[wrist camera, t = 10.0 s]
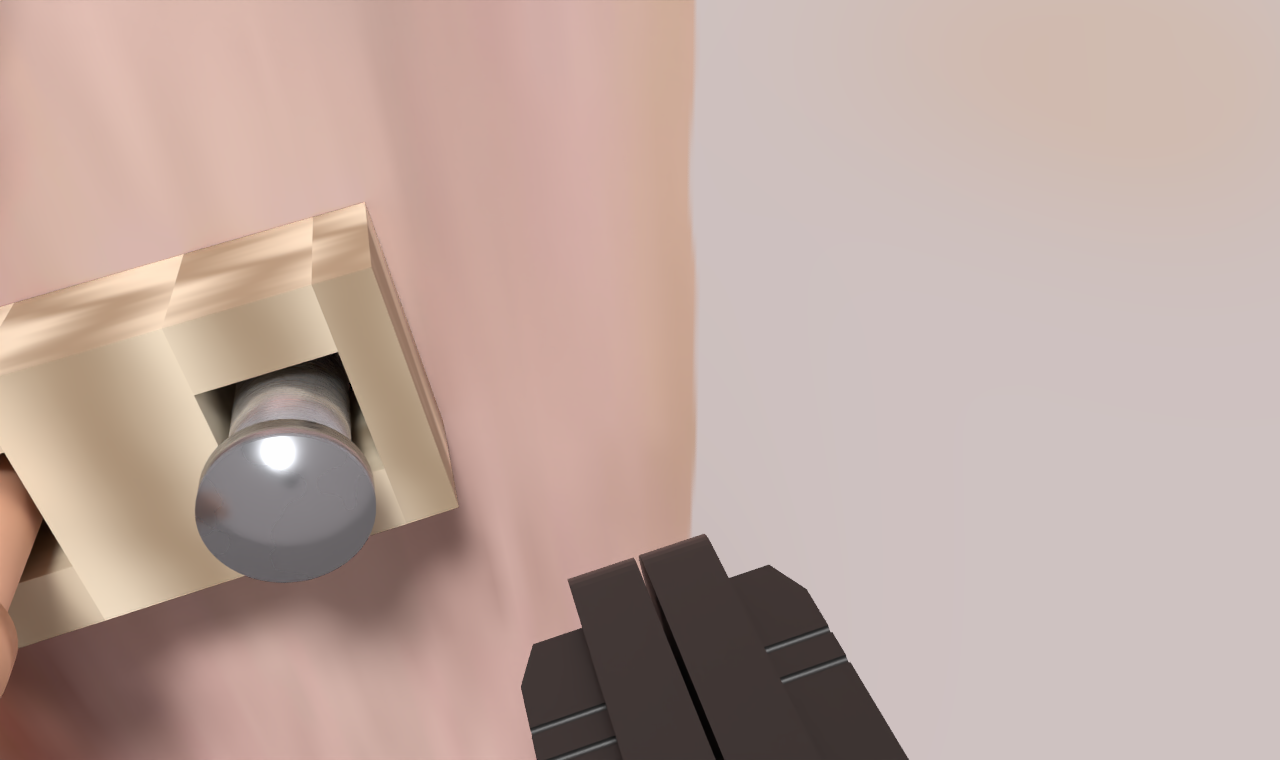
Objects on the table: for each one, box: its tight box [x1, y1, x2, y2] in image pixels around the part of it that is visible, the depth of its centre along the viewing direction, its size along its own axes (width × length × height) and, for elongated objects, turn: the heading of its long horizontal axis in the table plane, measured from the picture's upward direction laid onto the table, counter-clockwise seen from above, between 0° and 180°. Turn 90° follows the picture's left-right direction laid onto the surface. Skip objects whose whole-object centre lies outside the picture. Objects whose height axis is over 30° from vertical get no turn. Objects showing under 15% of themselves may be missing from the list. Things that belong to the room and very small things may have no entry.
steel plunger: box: [195, 352, 376, 583], centre depth 36 cm, size 5×5×10 cm
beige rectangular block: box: [0, 202, 459, 648], centre depth 37 cm, size 18×9×6 cm, turn 102°
